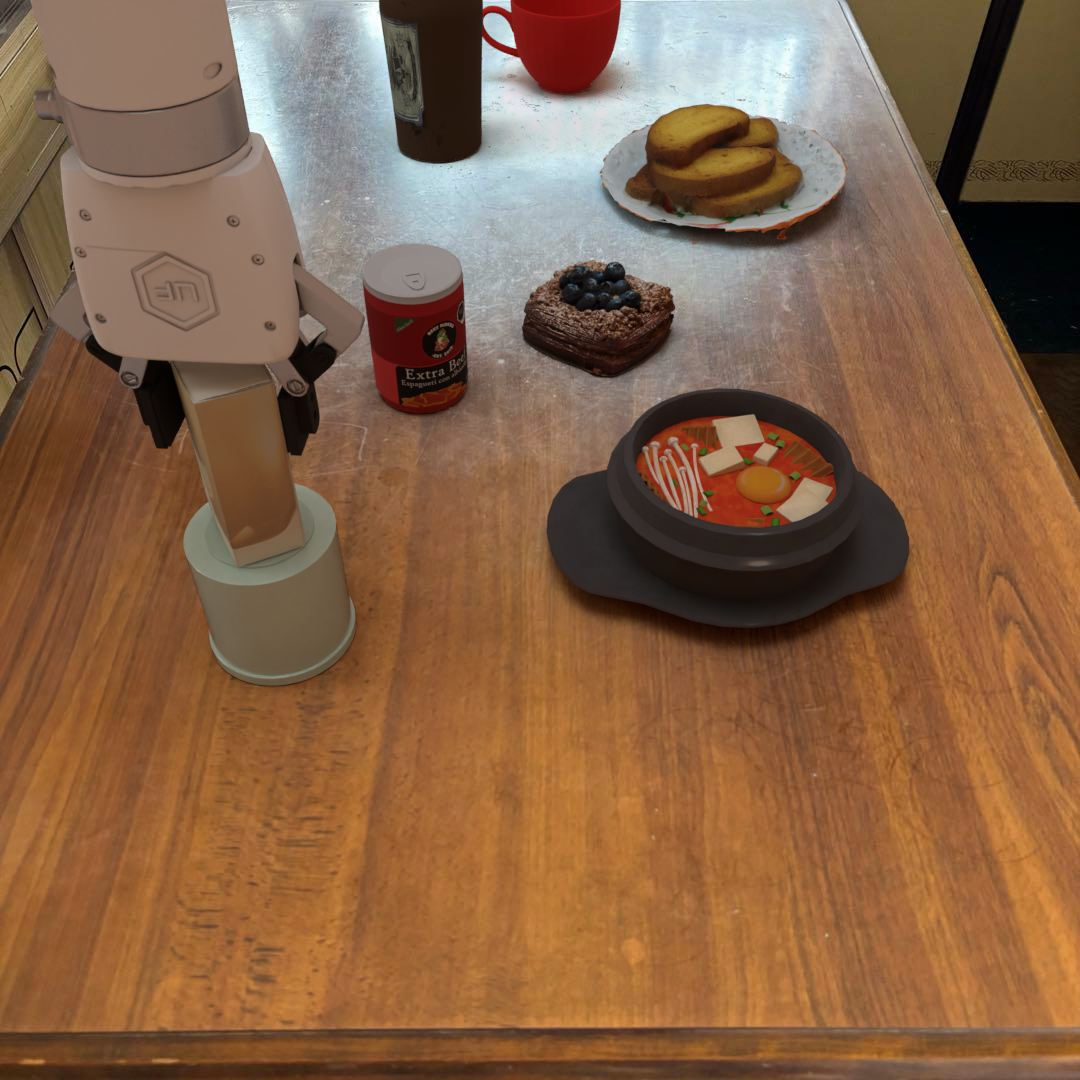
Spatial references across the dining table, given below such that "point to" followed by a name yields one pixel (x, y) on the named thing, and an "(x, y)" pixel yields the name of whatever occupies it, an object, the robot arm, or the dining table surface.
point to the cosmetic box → (242, 456)
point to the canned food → (416, 326)
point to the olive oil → (435, 75)
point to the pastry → (598, 318)
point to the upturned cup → (274, 599)
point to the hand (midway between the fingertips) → (236, 434)
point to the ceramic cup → (561, 40)
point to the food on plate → (723, 170)
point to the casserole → (728, 514)
